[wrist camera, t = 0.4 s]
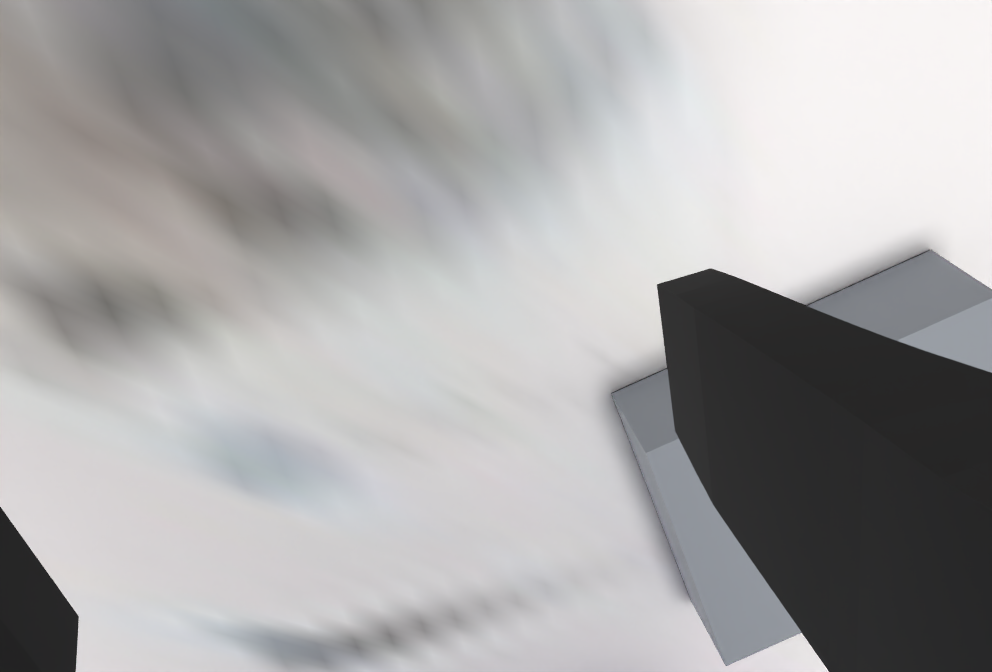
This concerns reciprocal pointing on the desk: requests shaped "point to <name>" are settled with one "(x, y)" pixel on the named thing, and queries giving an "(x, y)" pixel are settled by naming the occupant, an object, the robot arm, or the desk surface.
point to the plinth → (685, 503)
